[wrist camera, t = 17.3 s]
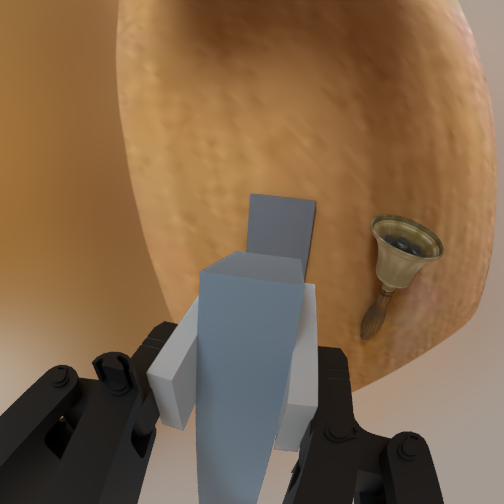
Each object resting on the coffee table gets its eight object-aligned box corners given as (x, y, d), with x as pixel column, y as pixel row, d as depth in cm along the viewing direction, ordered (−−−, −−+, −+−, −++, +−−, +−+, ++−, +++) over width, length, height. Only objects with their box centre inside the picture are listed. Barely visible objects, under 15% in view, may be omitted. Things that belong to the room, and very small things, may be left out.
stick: (236, 251, 13) (200, 271, 8) (301, 259, 12) (305, 285, 7) (217, 491, 16) (201, 534, 11) (253, 498, 15) (242, 543, 10)
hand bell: (441, 270, 19) (377, 372, 28) (445, 234, 25) (397, 330, 34) (360, 232, 23) (322, 341, 32) (382, 206, 29) (349, 305, 38)
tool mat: (251, 193, 30) (250, 194, 29) (315, 201, 29) (315, 202, 28) (242, 327, 36) (241, 329, 36) (293, 334, 36) (293, 337, 35)
